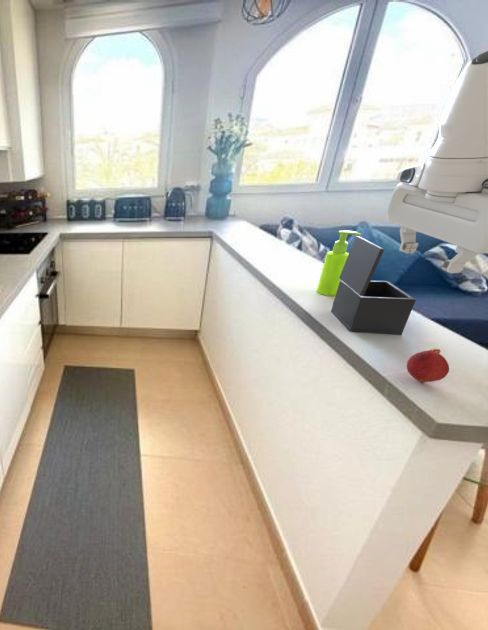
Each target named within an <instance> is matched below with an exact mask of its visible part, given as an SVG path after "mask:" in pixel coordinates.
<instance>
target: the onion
mask: <svg viewBox="0 0 488 630" xmlns="http://www.w3.org/2000/svg"><path fill="white" fill-rule="evenodd" d="M441 352H442V351H441V349H440V348H437V347H435V348H432V349H429V350H422V351H419V352H416V353H414V354H413V355H411V356H410V357H409V358H408V360H407V361H406V370H407V372H408V373H409V375H410V376H411V377H413V378H414V379H415V380H416V381H418V382H419V383H422V384H424V383H433V382H438V381H441V380H443V379H445V377H446V376H447V375H448V374H449V372H450V365H449V362H448V361H447V359H446V358H445V357H444V356H443V355H442V354H441Z"/></svg>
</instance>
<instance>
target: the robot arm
mask: <svg viewBox="0 0 488 630" xmlns="http://www.w3.org/2000/svg"><path fill="white" fill-rule="evenodd" d="M438 127H439V129H438V130H439V131H438V132H439V133H438V138H437V140H436V142H435V144H434V146H433V147H432V148H431V150H430V151H429V153H428V155H427V159H426V162H421V163H418V164H414V165H412V166H408V167H404V168H401V169H400V170H398V173H397V176H396V181H397V182H398V184H397V185H396V186H395V187H394V189H393V191H392V193H391V196H390V198H389V199H390V200H389V203H388V207H387V210H386V217H387V218H386V219H387V221H388V222H390V223H392V224H395V225H398V226H400V228H399V235H400V242H401V243H400V246H399V248H398V249H399V250H398V251H399V252H401V253H404V254H407V255H408V254H414V253H416V252H417V249H418V247H419V242H417V241H416V239H417V233H421V234H423V235H426V236H429V237H431V238H434V239H436V240H440V241H442V242H446V243H449V244H451V245H454V246H456V248H455V250H454V252H455V253H456V255H454V256H453V257H452V258H451V259H445V260H444V261H443V265H442V266H441V270H442V271H444V272H447V273H449V274H459V273H461V272H462V271H463V270H464V268H465V265H466V263H469V262H470V261H471V260H472V259H474V258H476V256H478V255H480V254H488V50H487V51H484V52H482V53H480V54H478V55H477V56H475V57H473V58H472V59H471V60H470V61H469V62H468V63H467V64H466V65H465V67H464V69H463V70H462V71H461V73H460V75H459V77H458V78H457V80H456V82H455V84H454V86H453V89H452V91H451V93H450V95H449V97H448V100H447V102H446V105H445V108H444V111H443V113H442V115H441V118H440V122H439V126H438Z"/></svg>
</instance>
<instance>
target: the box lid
mask: <svg viewBox="0 0 488 630" xmlns="http://www.w3.org/2000/svg"><path fill="white" fill-rule="evenodd" d="M384 251H385V248H383V247H381V246H379V245H378V244H375V243H374V242H372V241H370V240H368V239H366V238H364V237H362V236H361V235H359V236H356V235H355V238H354V240H353V242H352V245H351V247H350V249H349V252H348V253H349V255H348V257H347V260H346V262H345V265H344V267H343V270H342V272H341V275H340V277H339V278H340V279H341V280H342V281H343V282H344V283H346V284H347V285H348V286H349V287H350V288H352V289H353V290H354V291H355V292H356V293H358V294H359V295H360V296H364V294H365V292H366V289H367V287H368V285H369V283H370V281H372V278H373V276H374V274H375V272H376V270H377V267H378V265H379V262H380V261H381V258H382V256H383V254H384Z"/></svg>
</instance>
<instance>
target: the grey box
mask: <svg viewBox="0 0 488 630" xmlns="http://www.w3.org/2000/svg"><path fill="white" fill-rule="evenodd" d="M333 299H334V300H333V302H332V307H331V309H330V311H331V313H332V314H333V315H334V317H335V318H336V319H337V320H338V321H339V322H340V323H341V324H342V325H343V326H344V327H345V328H346V329H347V331H348V332H350V333H363V334H365V333H366V334H378V335H379V334H380V335H395V334H400V336H402V335H403V333H404V330H405V328H406V325H407V323H408V320H409V318H410V315H411V313H412V310H413V308H414V306H415V303H416V301H417V299H416V298H414V296H412V295H410V294H409V293H407V292H405V291H404V290H402V289H401V288H399V287H398V286H396V285H394V284H393V283H392V282H391V281H389V280H370V283H369V285H368V287H367V289H366V292H365V294H364V296H360V295H359V294H358V293H356V292H355V291H354V290H353V289H352V288H350V287H349V286H348V285H347V284H346V283H344V282H343V281H342V280H340V282H339V286H338V289H337V293H336V296H334V298H333Z"/></svg>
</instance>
